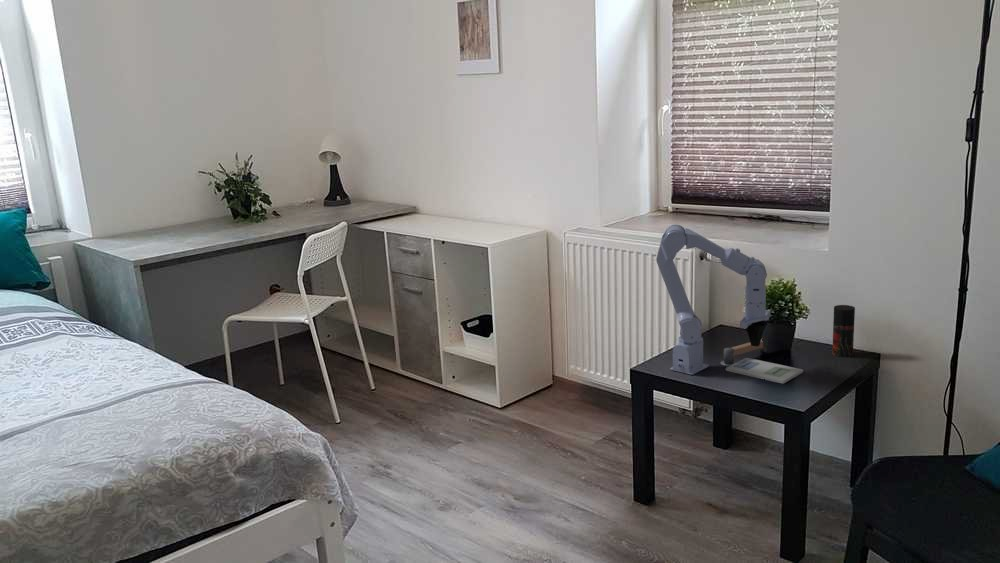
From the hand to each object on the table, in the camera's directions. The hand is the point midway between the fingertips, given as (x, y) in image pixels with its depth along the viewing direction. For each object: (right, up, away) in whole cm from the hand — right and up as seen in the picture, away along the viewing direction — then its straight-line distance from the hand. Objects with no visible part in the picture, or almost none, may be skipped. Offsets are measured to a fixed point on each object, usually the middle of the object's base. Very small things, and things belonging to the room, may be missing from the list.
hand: (755, 345), depth 244 cm
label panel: (+1, -7, +1) cm, 8 cm away
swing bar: (+2, -4, +12) cm, 13 cm away
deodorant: (+30, -4, +10) cm, 32 cm away
